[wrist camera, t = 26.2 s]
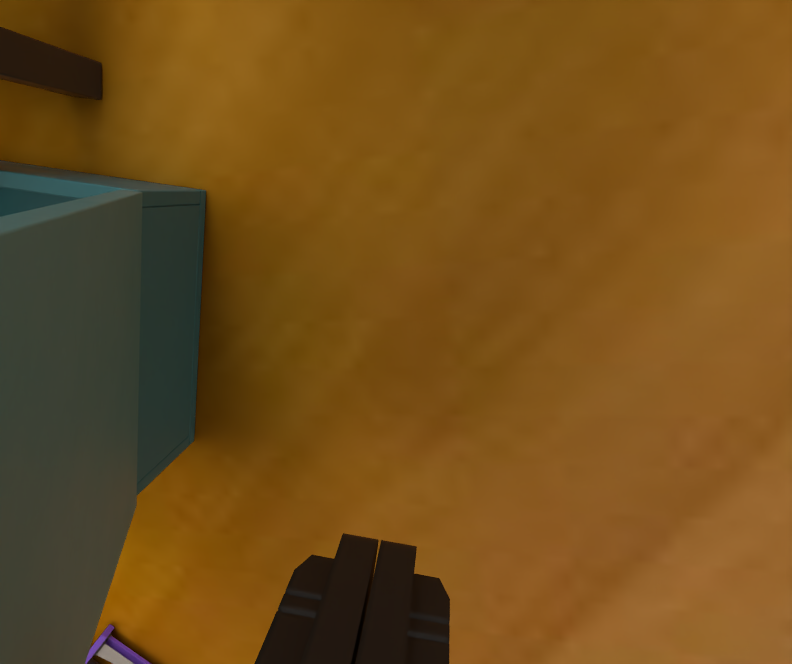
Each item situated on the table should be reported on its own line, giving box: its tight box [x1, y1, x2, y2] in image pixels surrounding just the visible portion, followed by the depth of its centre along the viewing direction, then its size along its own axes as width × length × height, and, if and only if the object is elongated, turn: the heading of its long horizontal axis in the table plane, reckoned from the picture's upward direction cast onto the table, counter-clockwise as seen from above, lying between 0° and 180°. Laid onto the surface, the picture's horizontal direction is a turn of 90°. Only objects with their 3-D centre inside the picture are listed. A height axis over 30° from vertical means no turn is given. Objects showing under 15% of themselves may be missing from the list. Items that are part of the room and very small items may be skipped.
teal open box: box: [0, 160, 206, 495], centre depth 24 cm, size 12×12×6 cm
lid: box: [0, 189, 142, 664], centre depth 15 cm, size 13×12×1 cm
